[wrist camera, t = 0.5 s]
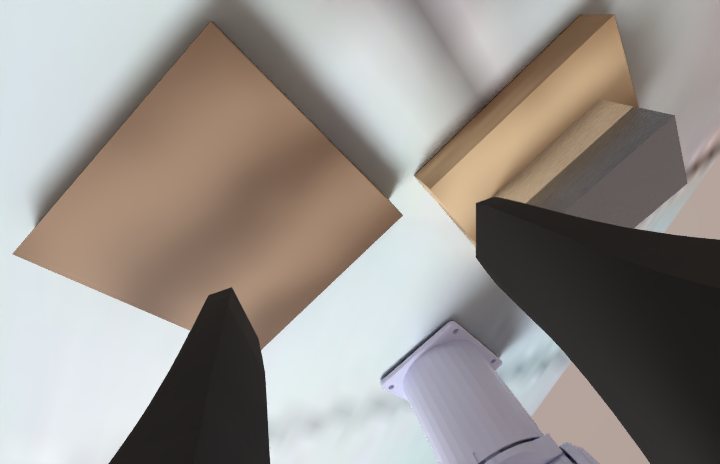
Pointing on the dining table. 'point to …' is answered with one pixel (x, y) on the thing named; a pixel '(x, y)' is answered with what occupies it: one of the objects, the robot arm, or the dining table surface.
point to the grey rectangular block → (605, 166)
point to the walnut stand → (213, 200)
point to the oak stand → (529, 117)
